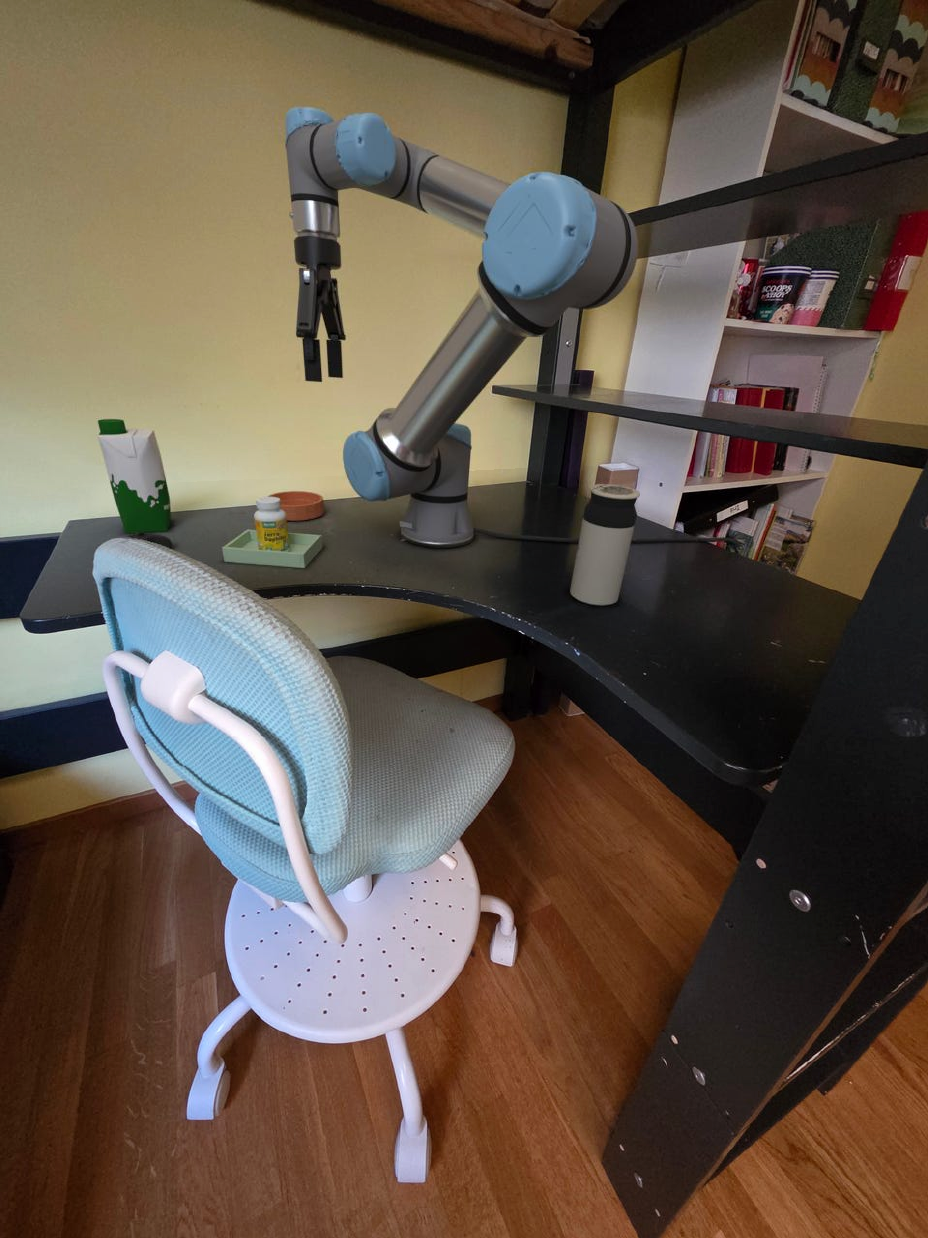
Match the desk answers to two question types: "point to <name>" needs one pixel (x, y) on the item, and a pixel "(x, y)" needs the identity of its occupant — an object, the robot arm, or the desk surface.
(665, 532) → the desk surface
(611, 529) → the travel mug
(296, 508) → the bowl
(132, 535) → the game controller
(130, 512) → the milk carton
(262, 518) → the supplement bottle
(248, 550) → the tray
